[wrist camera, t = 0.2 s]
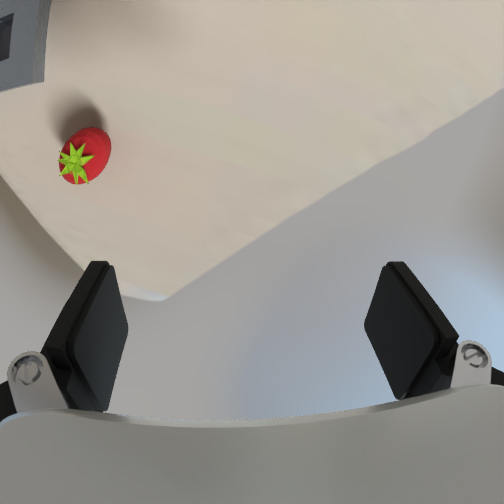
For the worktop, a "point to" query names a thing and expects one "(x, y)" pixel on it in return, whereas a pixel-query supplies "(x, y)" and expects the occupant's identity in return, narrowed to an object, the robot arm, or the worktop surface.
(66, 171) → the strawberry
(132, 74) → the worktop surface
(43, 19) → the plate
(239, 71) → the worktop surface
